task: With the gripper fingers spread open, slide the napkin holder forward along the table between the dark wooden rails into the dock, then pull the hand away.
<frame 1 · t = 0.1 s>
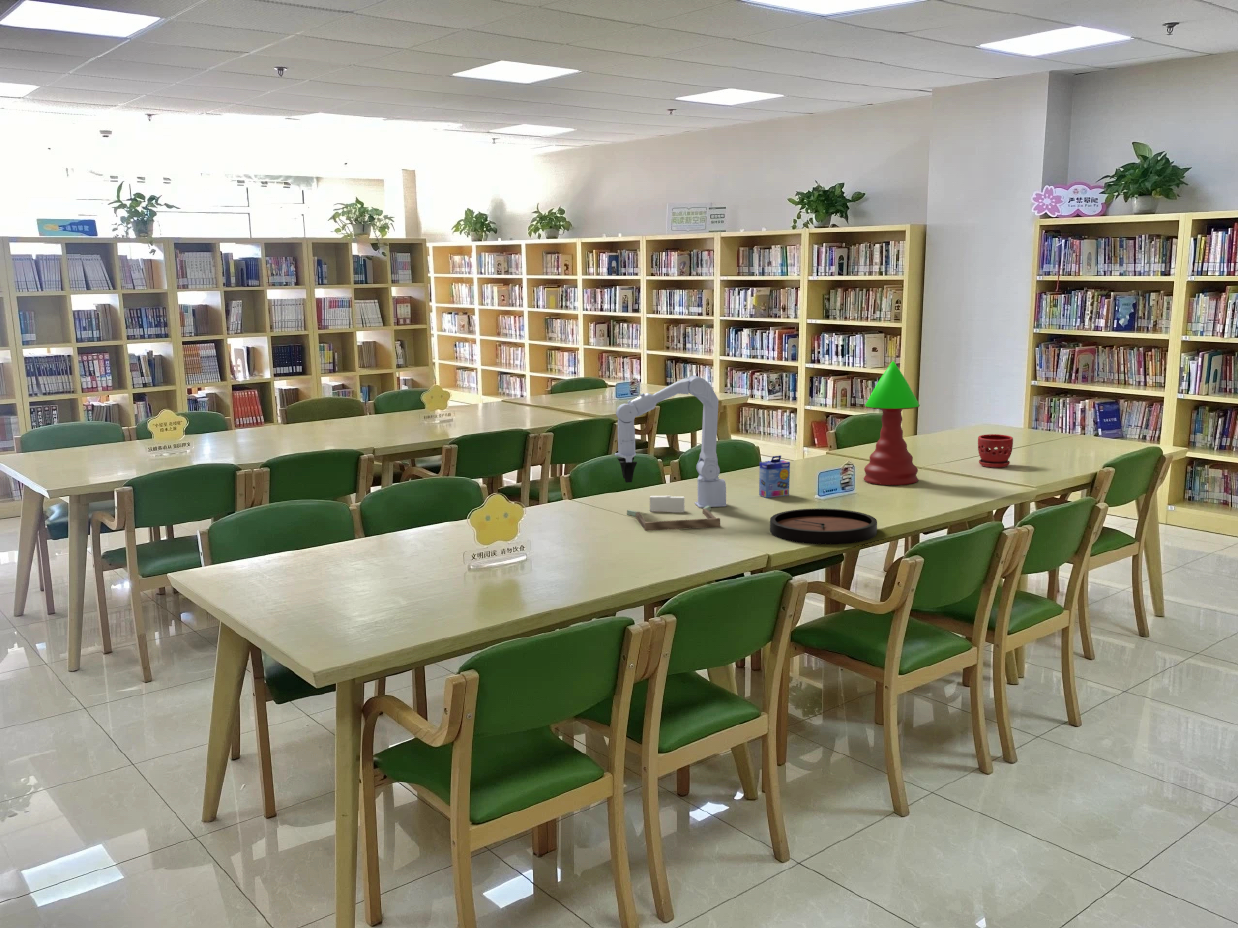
hand: (627, 480, 338), 10 cm above the table, tool pointing down, fingers open, 7 cm apart
ink cartridge box: (774, 496, 356), on the table
table lamp: (890, 481, 376), on the table
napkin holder: (668, 513, 335), on the table
wall clock: (822, 533, 302), on the table
napkin dock: (675, 519, 322), on the table
plant pot: (994, 466, 401), on the table
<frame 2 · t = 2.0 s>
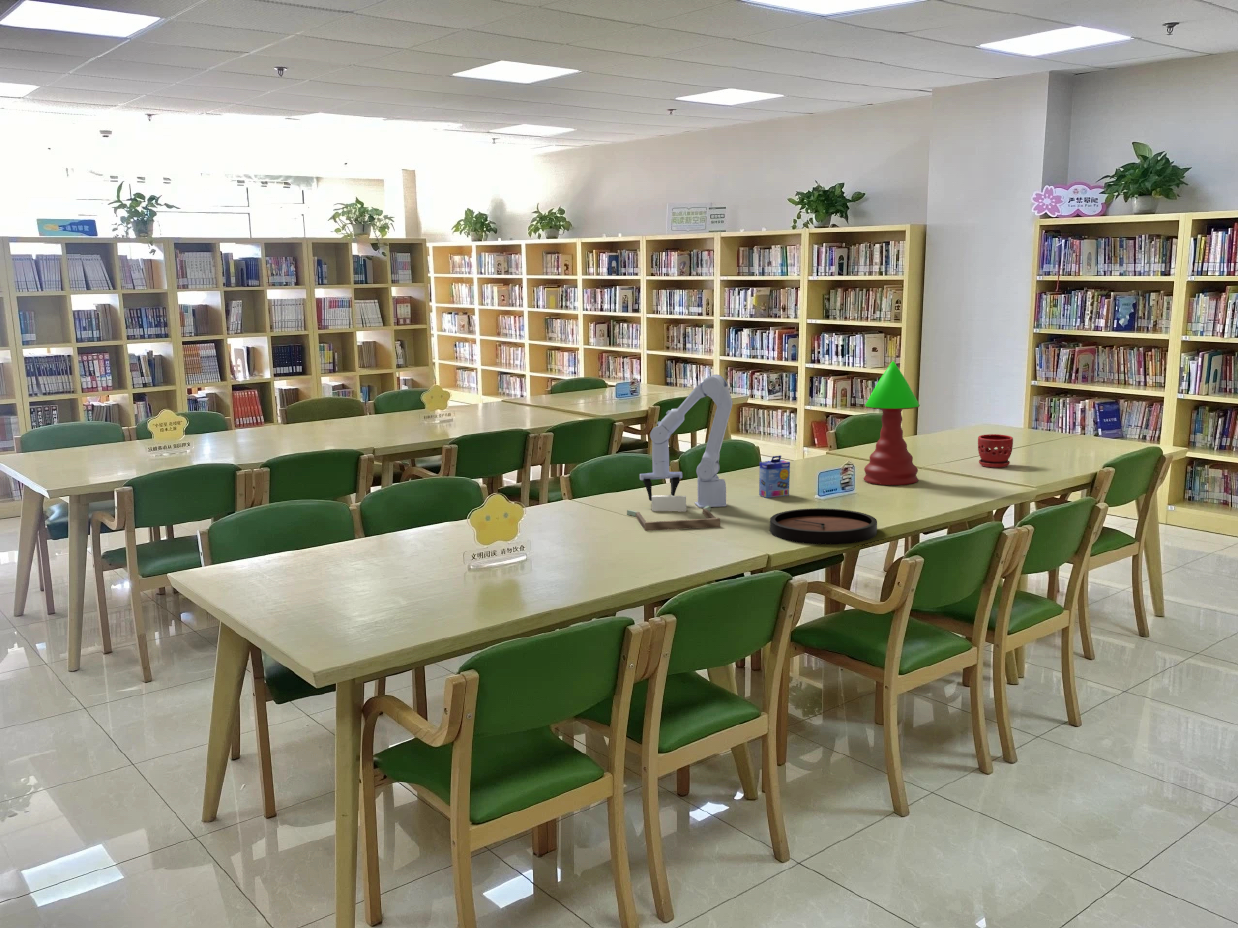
hand: (661, 499, 347), 1 cm above the table, tool pointing down, fingers open, 7 cm apart
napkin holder: (670, 512, 336), on the table
everything else where it was.
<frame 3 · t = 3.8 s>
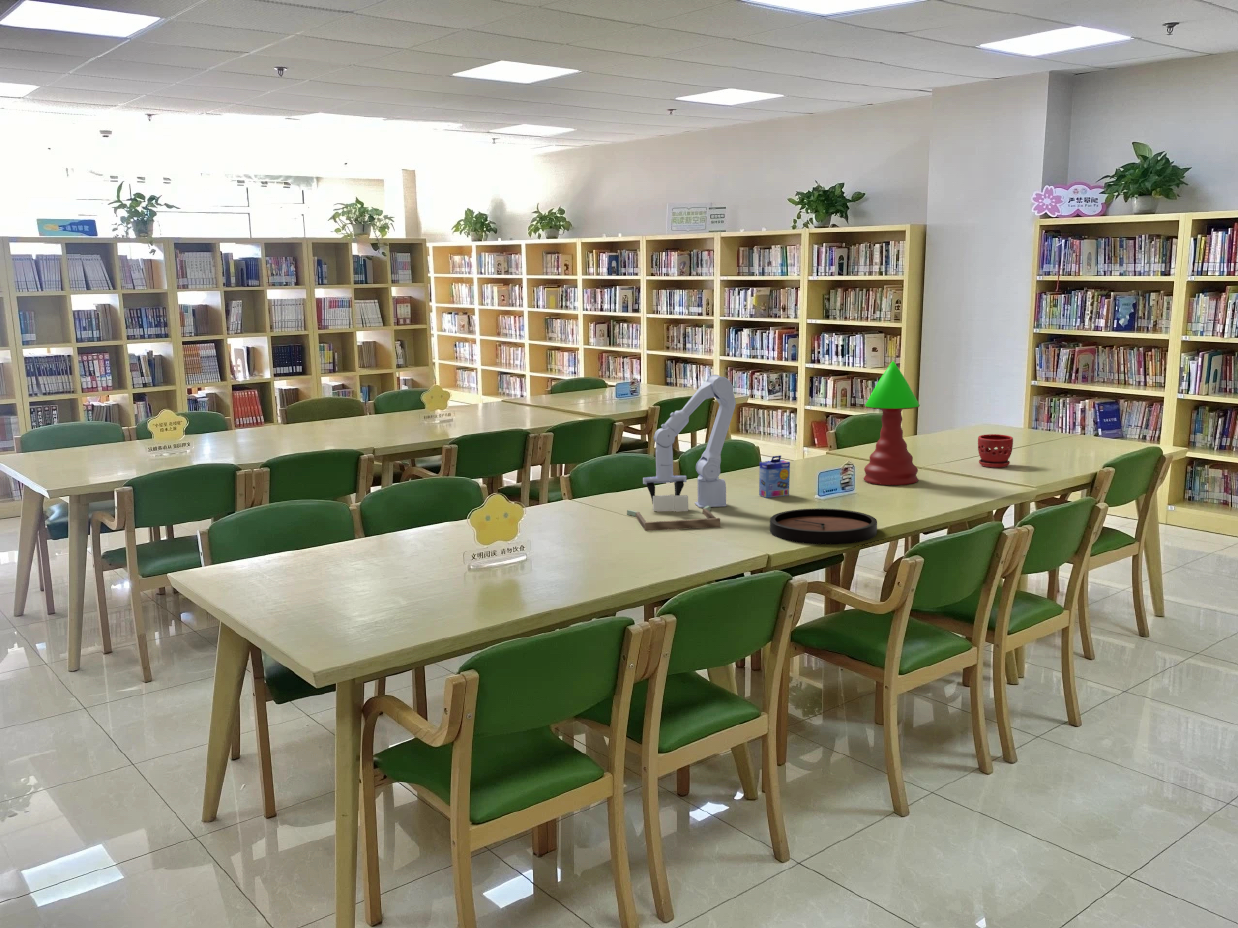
hand: (665, 503, 340), 1 cm above the table, tool pointing down, fingers open, 7 cm apart
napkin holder: (671, 512, 336), on the table, touching gripper
everything else where it was.
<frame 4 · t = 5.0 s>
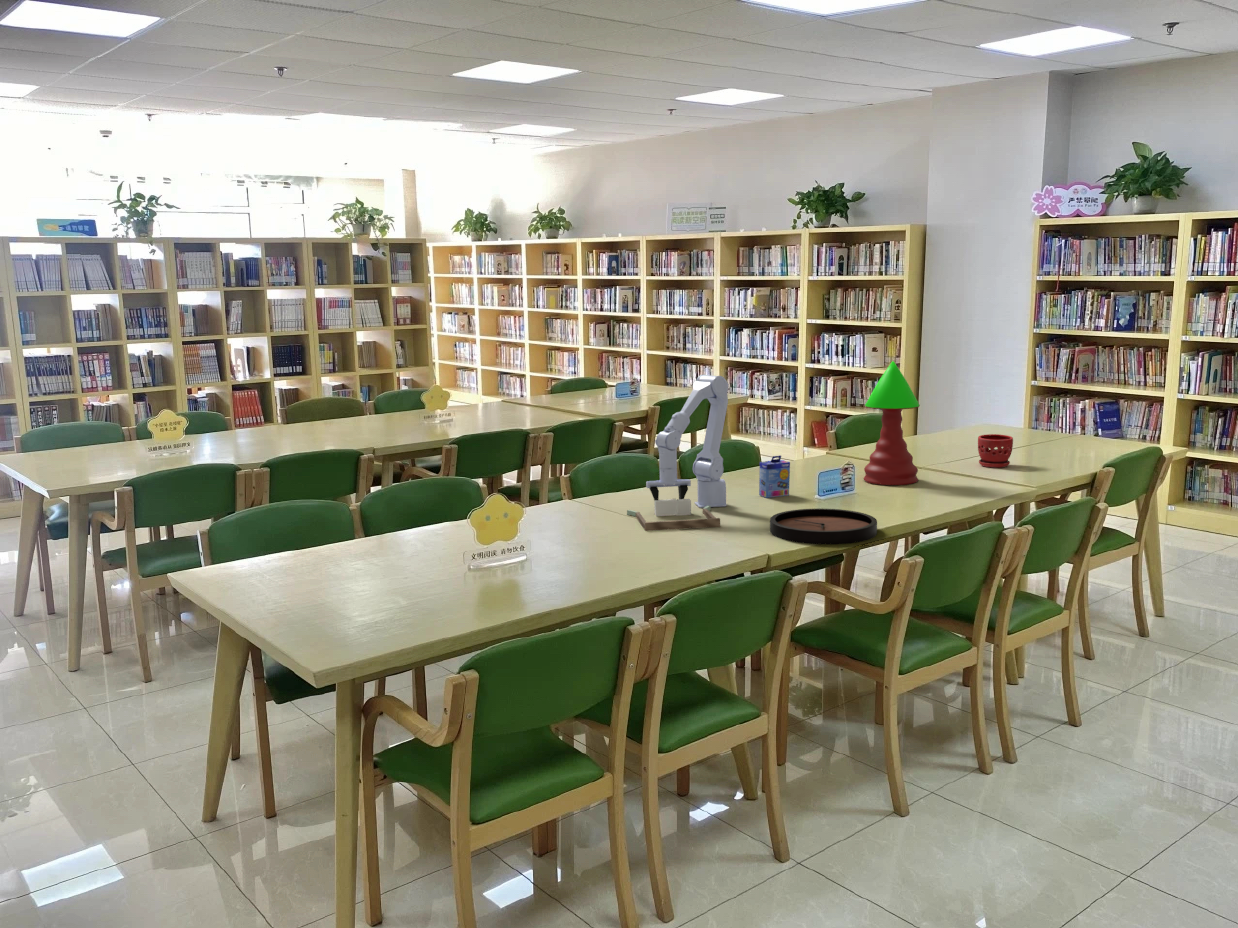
hand: (668, 508, 333), 1 cm above the table, tool pointing down, fingers open, 7 cm apart
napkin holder: (674, 516, 329), on the table, touching gripper
everything else where it was.
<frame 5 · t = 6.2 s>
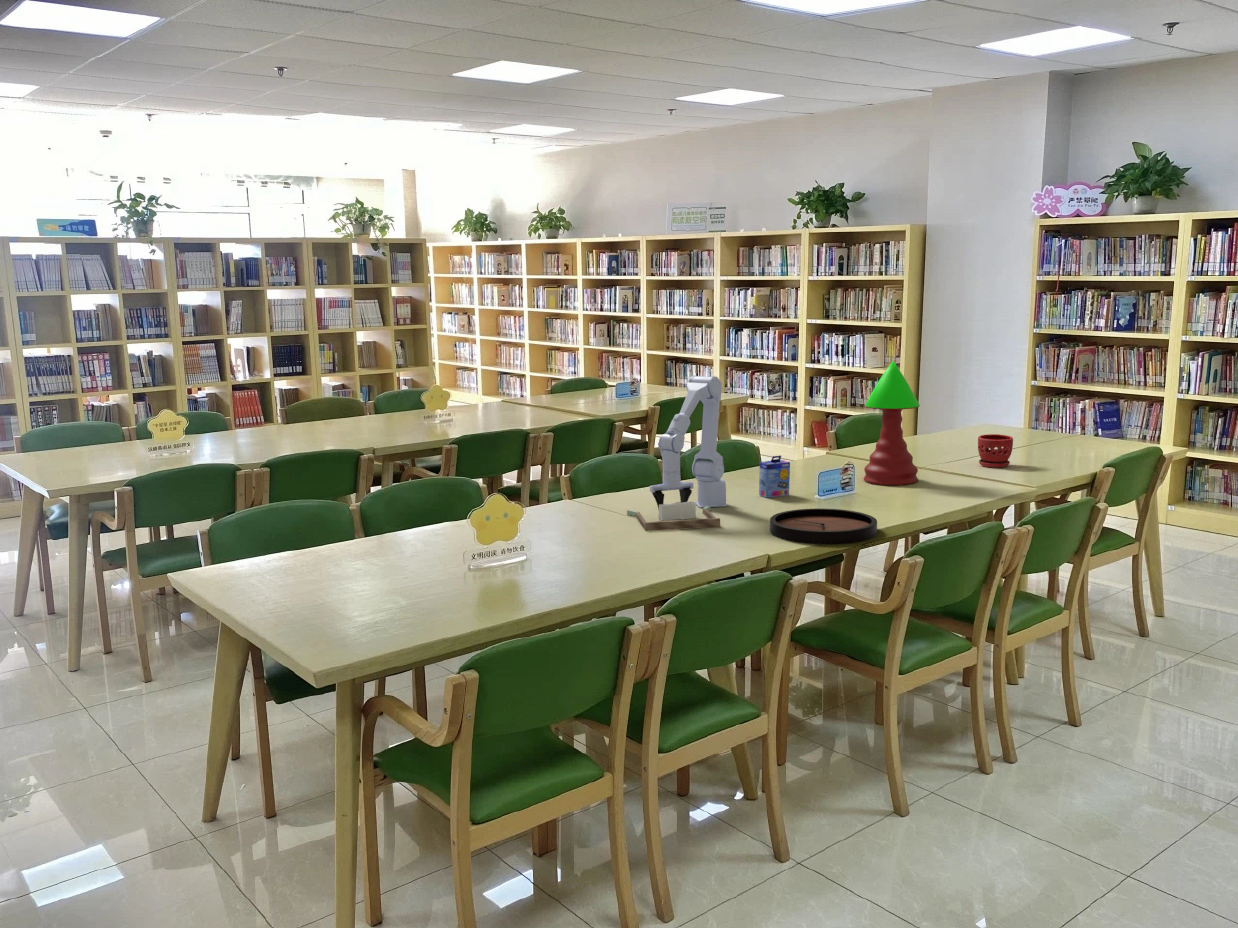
hand: (672, 512, 327), 1 cm above the table, tool pointing down, fingers open, 7 cm apart
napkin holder: (679, 520, 324), on the table, touching gripper
everything else where it was.
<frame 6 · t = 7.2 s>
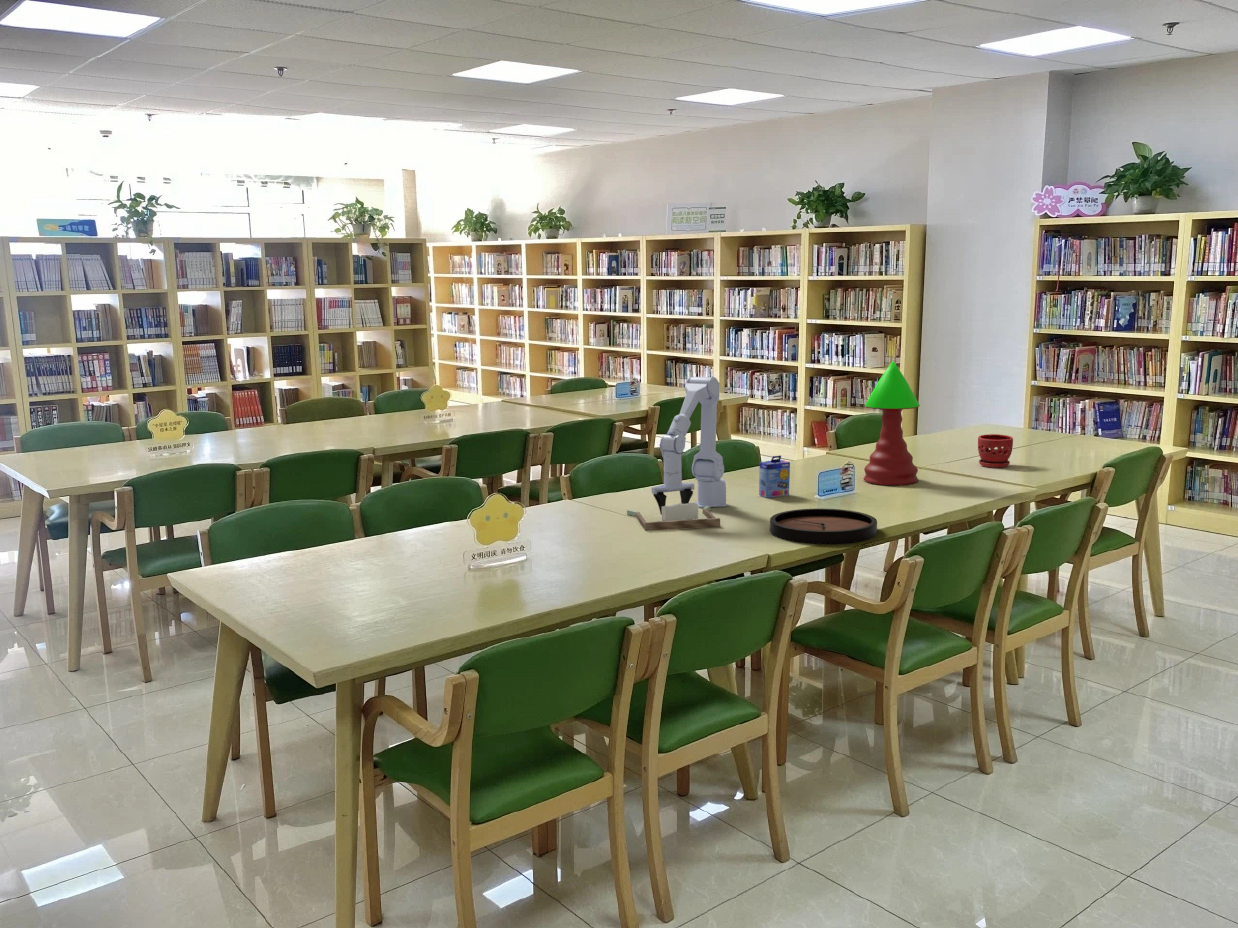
hand: (673, 513, 325), 1 cm above the table, tool pointing down, fingers open, 7 cm apart
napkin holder: (681, 522, 322), on the table
everything else where it was.
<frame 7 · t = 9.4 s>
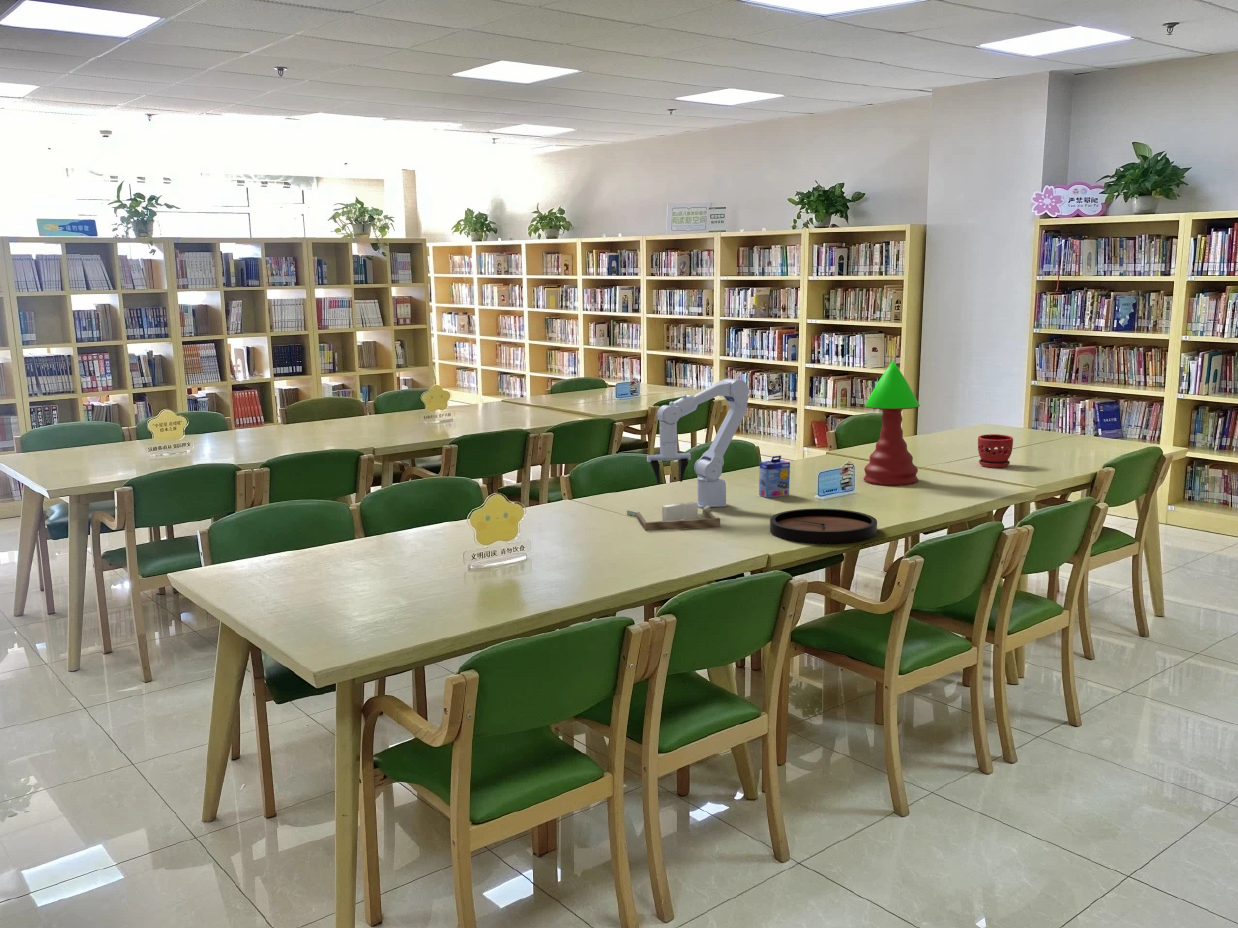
hand: (669, 481, 336), 9 cm above the table, tool pointing down, fingers open, 7 cm apart
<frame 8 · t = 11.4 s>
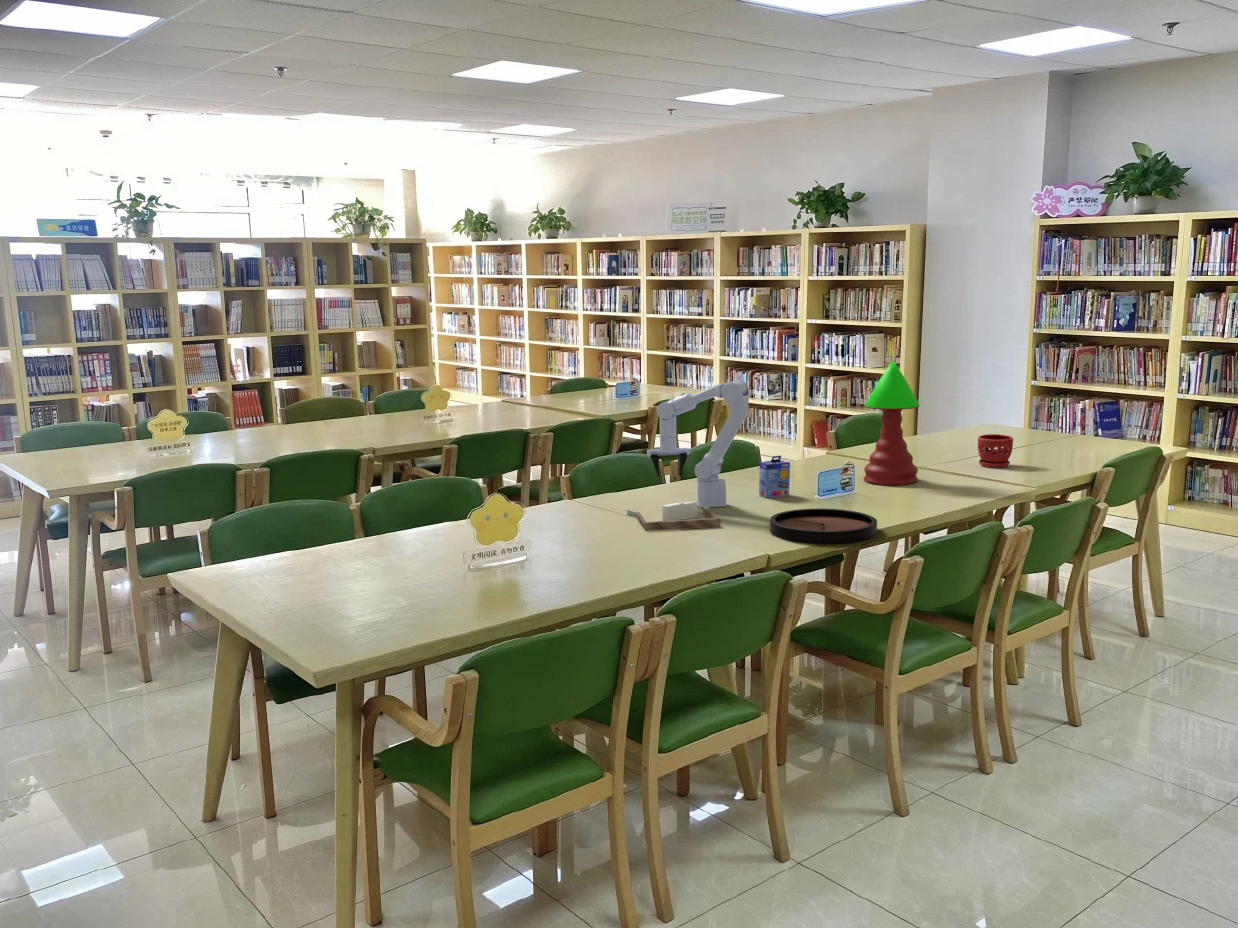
hand: (668, 475, 347), 9 cm above the table, tool pointing down, fingers open, 7 cm apart
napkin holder: (682, 520, 324), on the table
everything else where it was.
at the end: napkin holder inside the target area on the napkin dock (2.5 cm from its centre), point -0.7 cm above the napkin dock's base; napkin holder tilted 0°; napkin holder moved 12.0 cm from its start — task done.
